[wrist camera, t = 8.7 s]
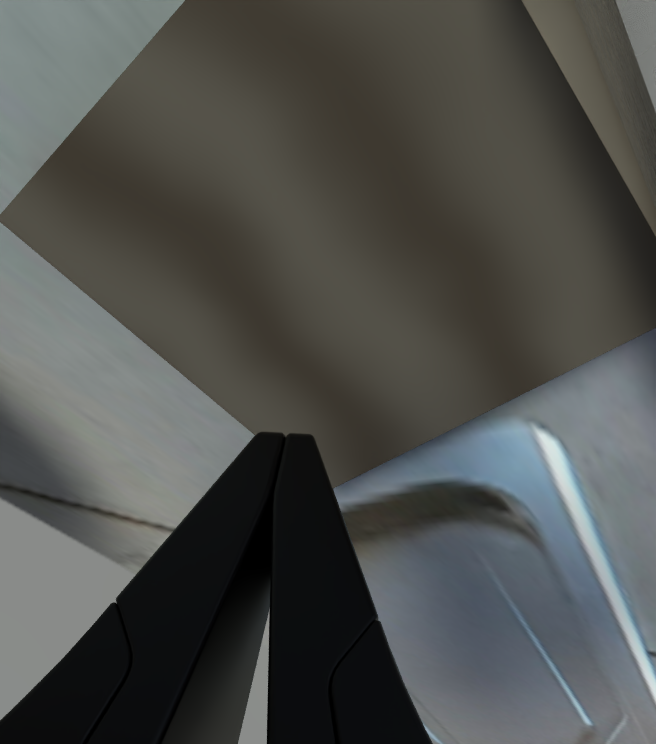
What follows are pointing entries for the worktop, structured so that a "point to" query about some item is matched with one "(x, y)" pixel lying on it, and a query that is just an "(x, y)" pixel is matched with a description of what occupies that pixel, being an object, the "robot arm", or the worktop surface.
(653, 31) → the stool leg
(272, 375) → the wooden board
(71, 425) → the worktop surface
